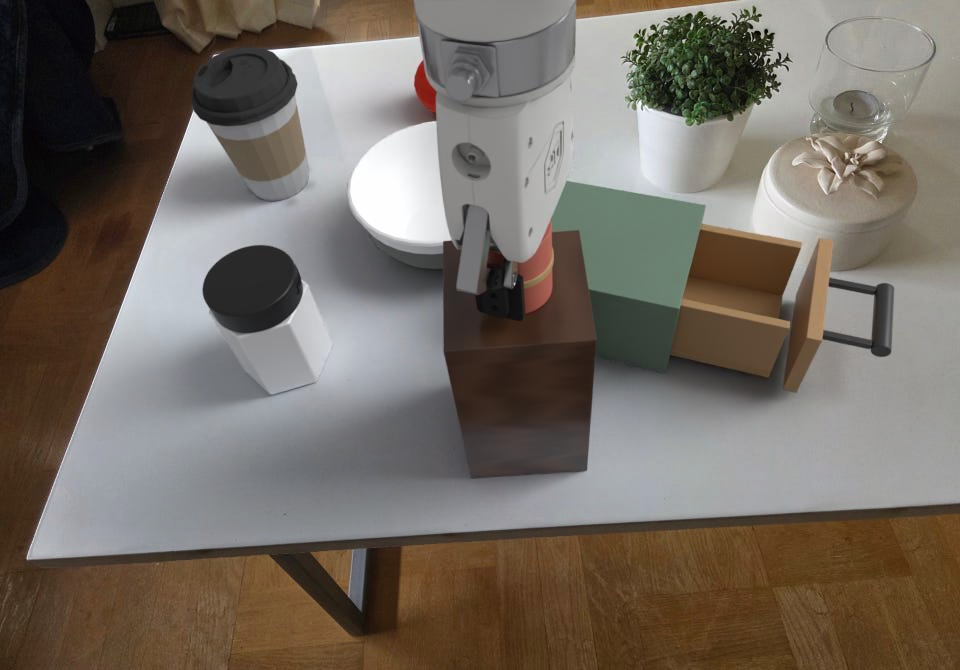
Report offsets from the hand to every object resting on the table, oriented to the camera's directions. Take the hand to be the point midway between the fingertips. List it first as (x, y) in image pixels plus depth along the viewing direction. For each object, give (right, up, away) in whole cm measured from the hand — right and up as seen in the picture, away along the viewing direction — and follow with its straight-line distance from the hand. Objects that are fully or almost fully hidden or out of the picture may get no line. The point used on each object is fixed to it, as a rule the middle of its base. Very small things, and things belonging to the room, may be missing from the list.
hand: (515, 278), depth 50 cm
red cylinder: (0, 0, +1) cm, 1 cm away
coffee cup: (-27, +15, +39) cm, 49 cm away
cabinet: (+10, -1, +23) cm, 25 cm away
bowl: (-6, +7, +31) cm, 32 cm away
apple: (-6, +25, +45) cm, 52 cm away
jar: (-21, -6, +23) cm, 32 cm away
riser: (+2, -12, +16) cm, 20 cm away
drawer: (+24, -4, +19) cm, 30 cm away
